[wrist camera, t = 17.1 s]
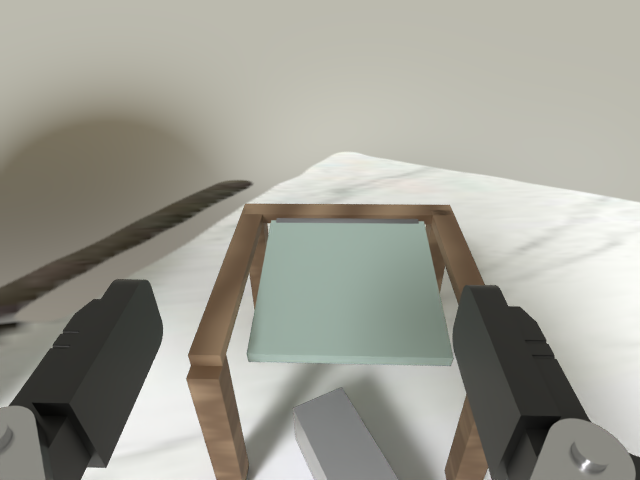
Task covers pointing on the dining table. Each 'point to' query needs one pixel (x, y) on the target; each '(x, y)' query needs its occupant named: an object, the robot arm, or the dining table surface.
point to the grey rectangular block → (338, 441)
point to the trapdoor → (349, 295)
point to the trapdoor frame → (221, 311)
